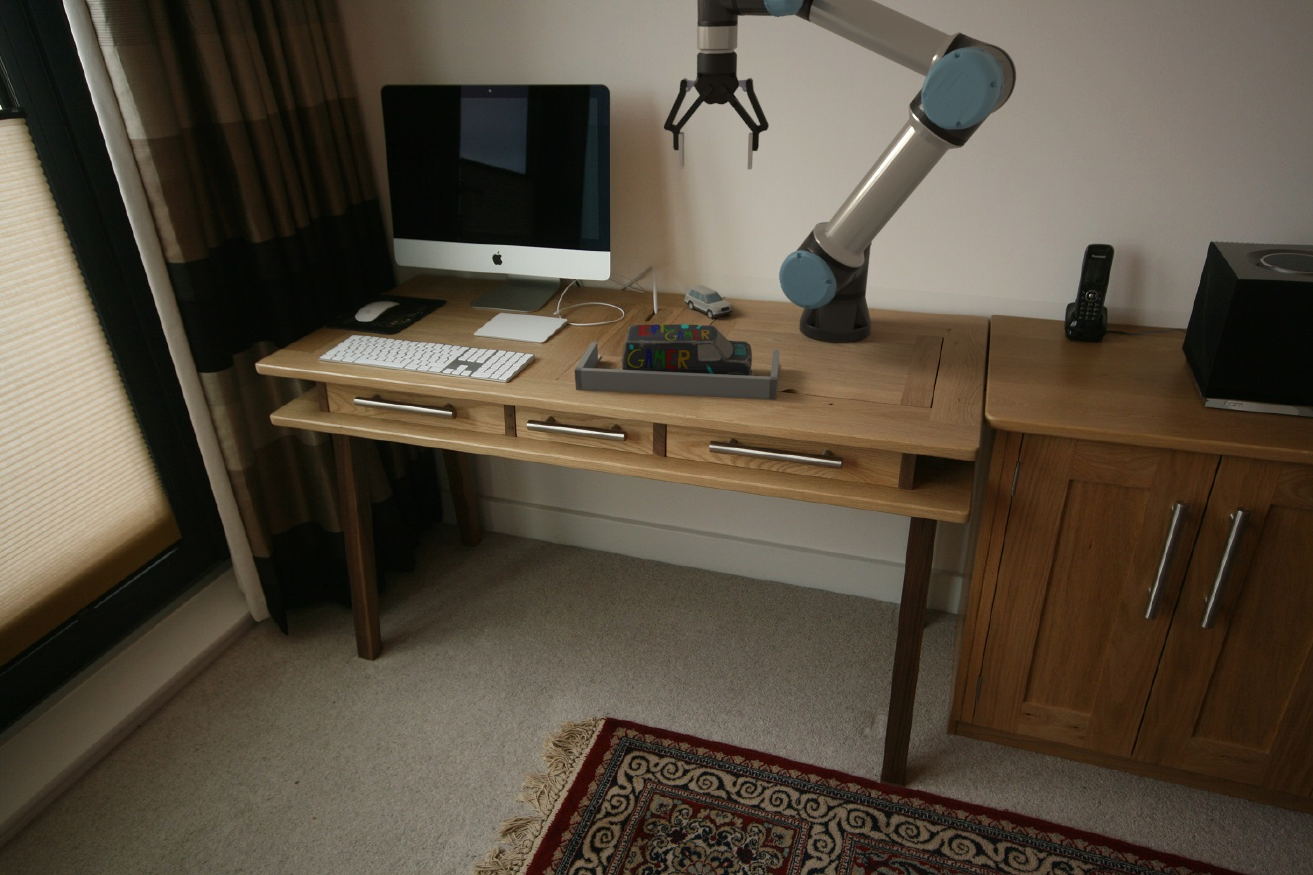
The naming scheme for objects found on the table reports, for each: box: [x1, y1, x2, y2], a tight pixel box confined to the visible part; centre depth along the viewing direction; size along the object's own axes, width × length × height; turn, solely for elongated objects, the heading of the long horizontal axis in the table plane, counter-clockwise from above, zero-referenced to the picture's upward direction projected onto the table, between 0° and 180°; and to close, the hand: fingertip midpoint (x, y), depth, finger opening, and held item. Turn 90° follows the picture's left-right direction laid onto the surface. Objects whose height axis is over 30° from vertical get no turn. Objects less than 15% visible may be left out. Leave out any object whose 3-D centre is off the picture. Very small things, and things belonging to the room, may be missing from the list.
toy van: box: [621, 324, 754, 376], centre depth 164 cm, size 11×25×10 cm, turn 86°
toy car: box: [683, 284, 733, 320], centre depth 199 cm, size 6×13×5 cm, turn 33°
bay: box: [574, 341, 780, 401], centre depth 167 cm, size 37×17×4 cm, turn 81°
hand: (715, 168), depth 172 cm, fingers open, 13 cm apart
